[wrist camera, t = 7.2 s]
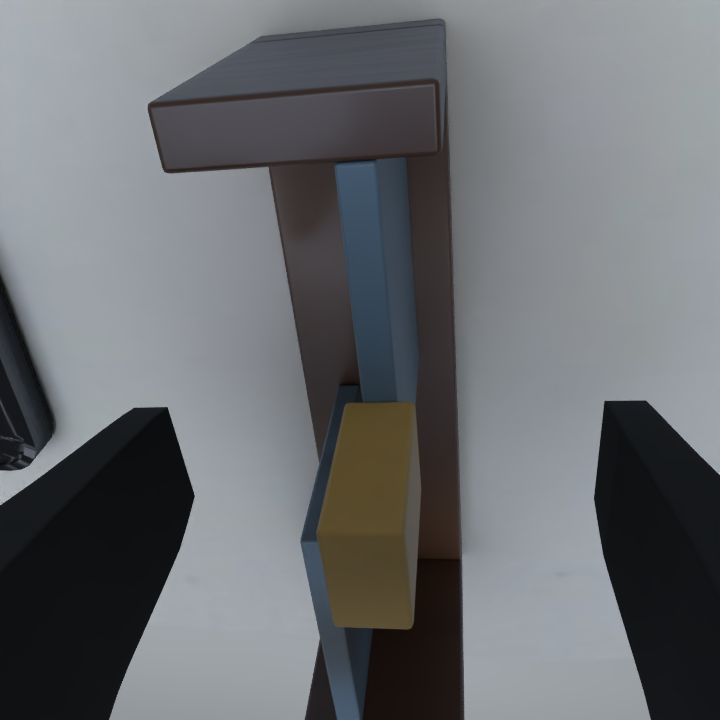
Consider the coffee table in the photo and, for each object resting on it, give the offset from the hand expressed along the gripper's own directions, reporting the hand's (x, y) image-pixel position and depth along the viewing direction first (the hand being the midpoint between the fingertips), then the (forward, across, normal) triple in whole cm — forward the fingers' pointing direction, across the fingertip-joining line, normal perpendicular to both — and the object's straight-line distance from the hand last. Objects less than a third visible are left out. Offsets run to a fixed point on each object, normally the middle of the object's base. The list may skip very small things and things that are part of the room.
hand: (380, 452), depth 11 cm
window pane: (+6, 0, -1) cm, 6 cm away
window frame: (+7, +1, +2) cm, 7 cm away
